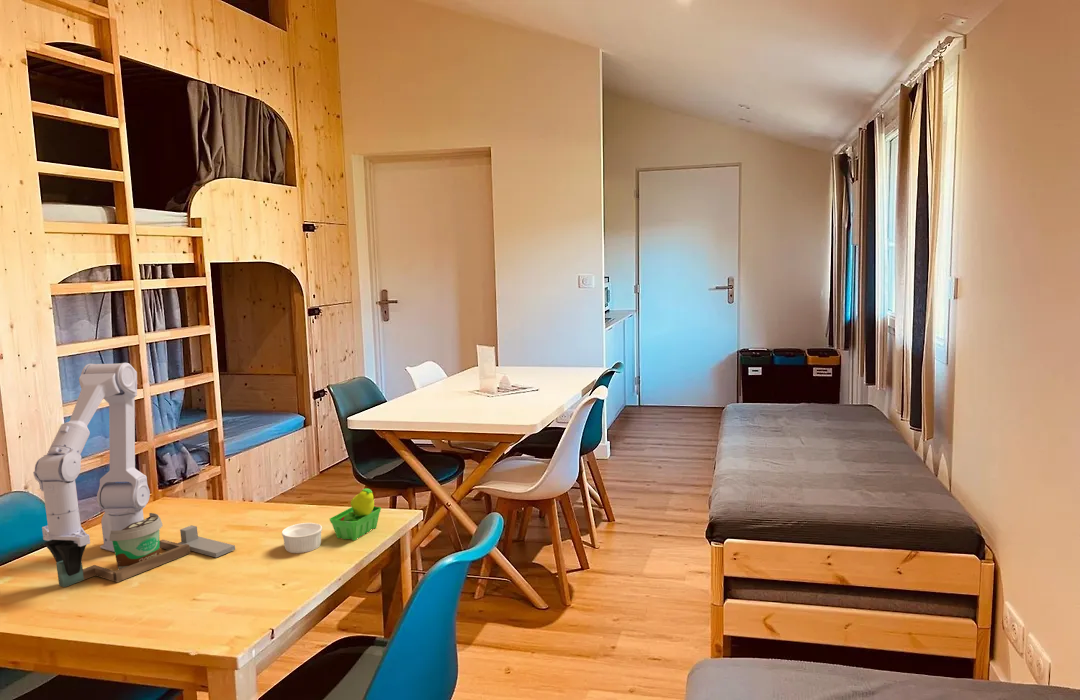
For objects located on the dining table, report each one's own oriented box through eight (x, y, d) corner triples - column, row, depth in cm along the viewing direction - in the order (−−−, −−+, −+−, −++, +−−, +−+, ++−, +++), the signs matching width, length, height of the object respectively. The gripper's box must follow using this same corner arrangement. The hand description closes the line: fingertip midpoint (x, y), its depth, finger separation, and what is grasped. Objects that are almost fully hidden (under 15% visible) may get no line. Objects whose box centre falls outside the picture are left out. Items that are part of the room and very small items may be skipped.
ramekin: (329, 540, 178) (327, 522, 178) (314, 554, 170) (312, 536, 169) (293, 540, 179) (291, 522, 179) (276, 554, 170) (274, 536, 170)
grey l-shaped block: (177, 547, 176) (176, 530, 176) (197, 539, 181) (195, 523, 180) (216, 557, 169) (214, 540, 169) (235, 549, 174) (233, 532, 173)
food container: (137, 578, 160) (132, 533, 159) (113, 576, 162) (108, 531, 161) (178, 555, 172) (174, 513, 171) (155, 553, 174) (151, 511, 172)
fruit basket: (358, 523, 188) (355, 479, 187) (388, 527, 185) (385, 482, 184) (329, 540, 178) (325, 493, 177) (360, 544, 175) (356, 497, 173)
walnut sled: (59, 585, 158) (56, 562, 157) (163, 546, 178) (161, 525, 177) (85, 594, 152) (82, 571, 152) (190, 553, 173) (188, 532, 172)
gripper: (23, 511, 157) (31, 573, 159) (61, 521, 150) (69, 586, 151) (59, 501, 163) (66, 561, 165) (96, 510, 156) (104, 573, 157)
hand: (70, 572), depth 158 cm, fingers closed on walnut sled, 2 cm apart
